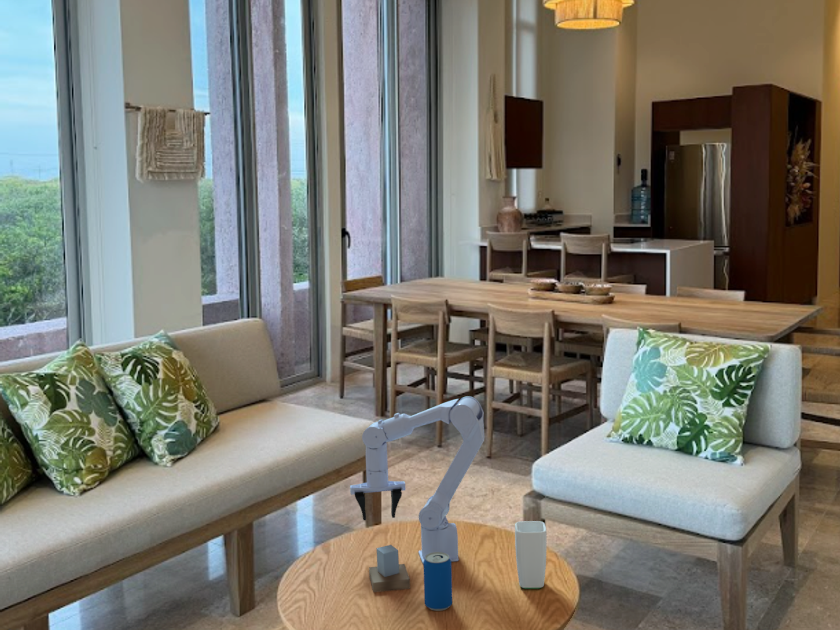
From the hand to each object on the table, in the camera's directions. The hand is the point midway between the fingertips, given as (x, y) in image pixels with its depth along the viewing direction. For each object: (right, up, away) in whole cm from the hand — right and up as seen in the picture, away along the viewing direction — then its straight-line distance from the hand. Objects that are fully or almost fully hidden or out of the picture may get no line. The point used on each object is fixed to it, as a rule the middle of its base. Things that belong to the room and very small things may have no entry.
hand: (378, 517), depth 239 cm
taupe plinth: (+3, -13, -16) cm, 21 cm away
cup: (+38, -12, -20) cm, 45 cm away
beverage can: (+15, -14, -29) cm, 36 cm away
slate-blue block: (+3, -10, -16) cm, 19 cm away
